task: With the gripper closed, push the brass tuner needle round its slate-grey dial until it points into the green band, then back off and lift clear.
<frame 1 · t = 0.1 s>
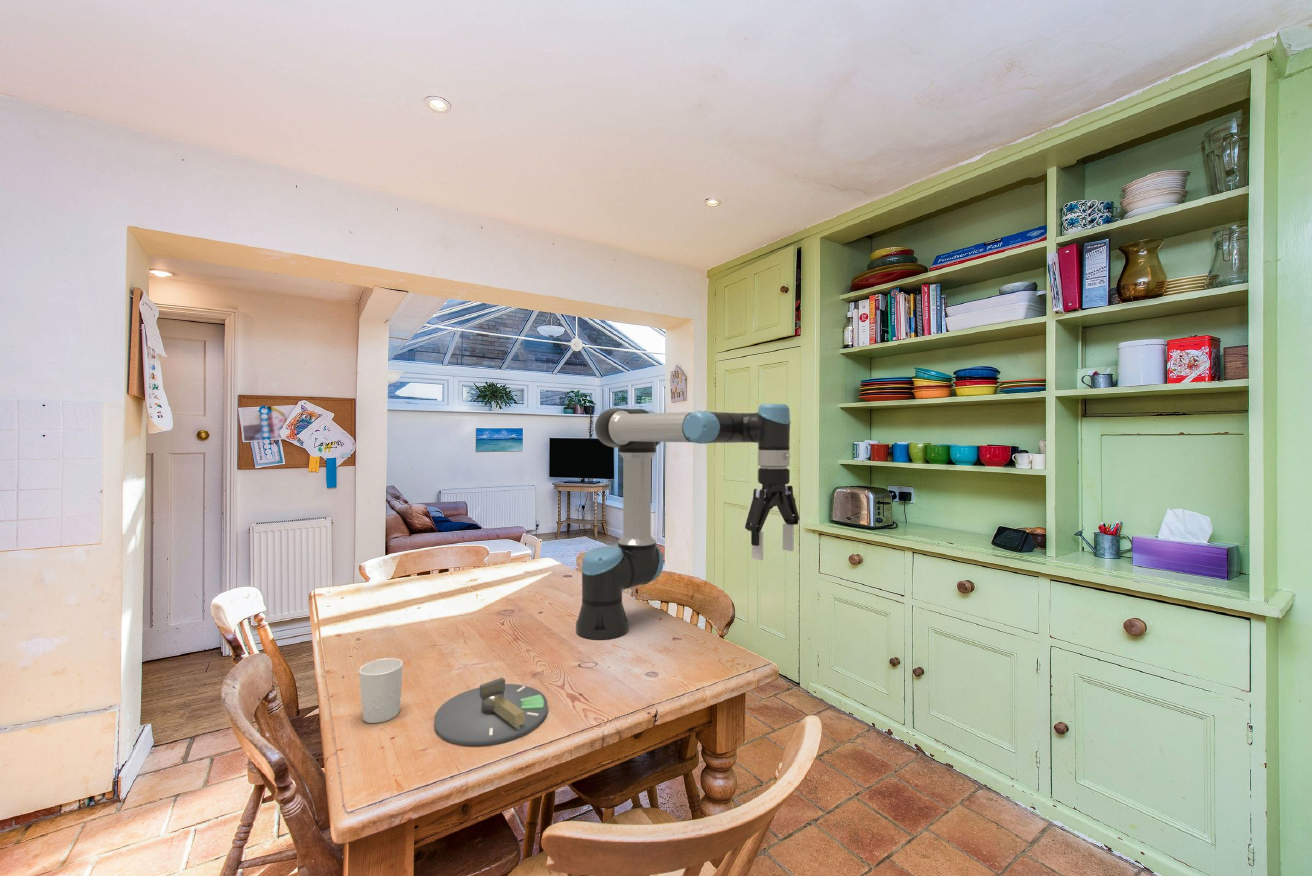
hand: (773, 554, 132), 28 cm above the table, fingers open, 13 cm apart
white cup: (381, 715, 110), on the table
needle: (502, 702, 107), point 4 cm above the table, hinge at 0.0°
dial: (492, 715, 110), on the table
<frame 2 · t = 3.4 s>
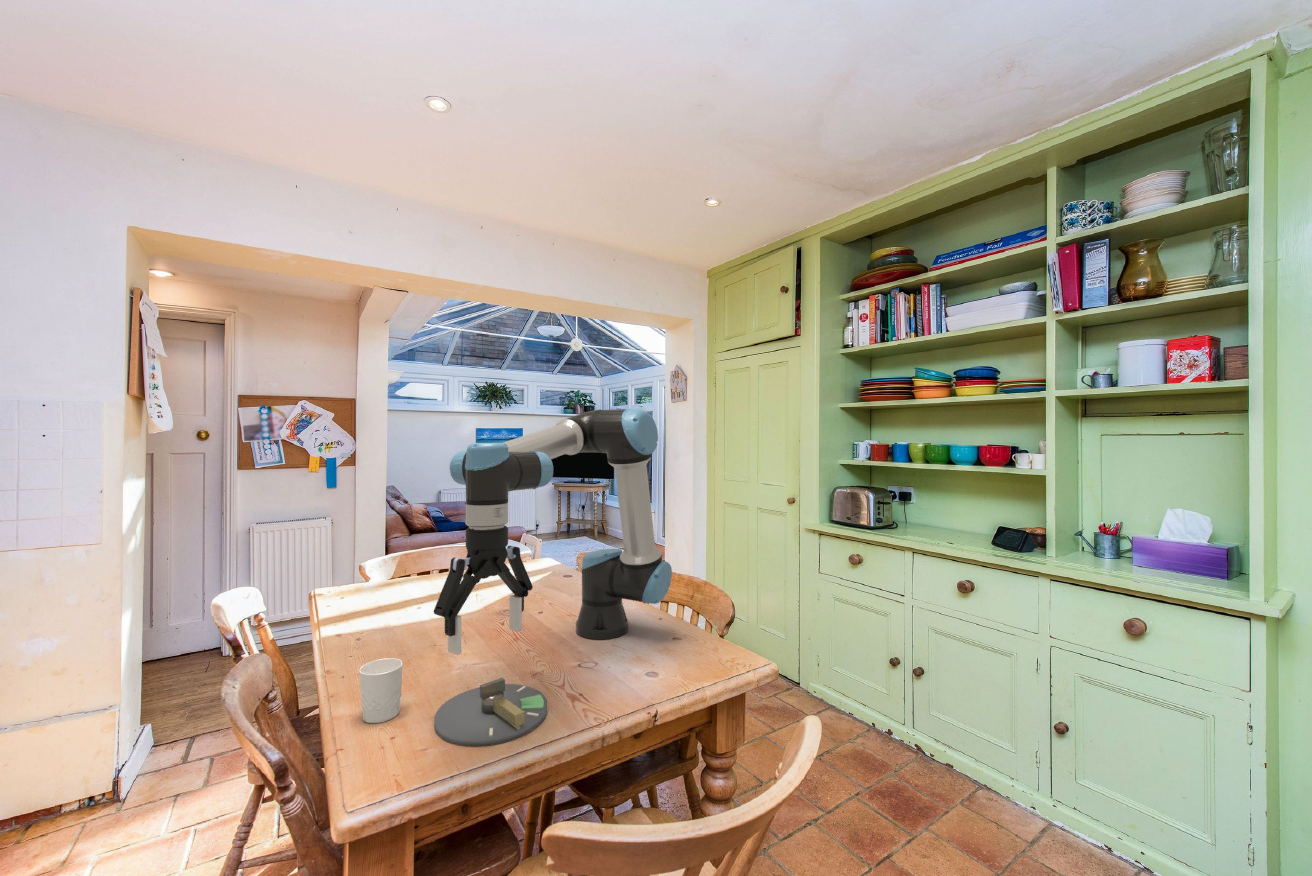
hand: (486, 640, 100), 19 cm above the table, fingers open, 13 cm apart
nothing on the table moved.
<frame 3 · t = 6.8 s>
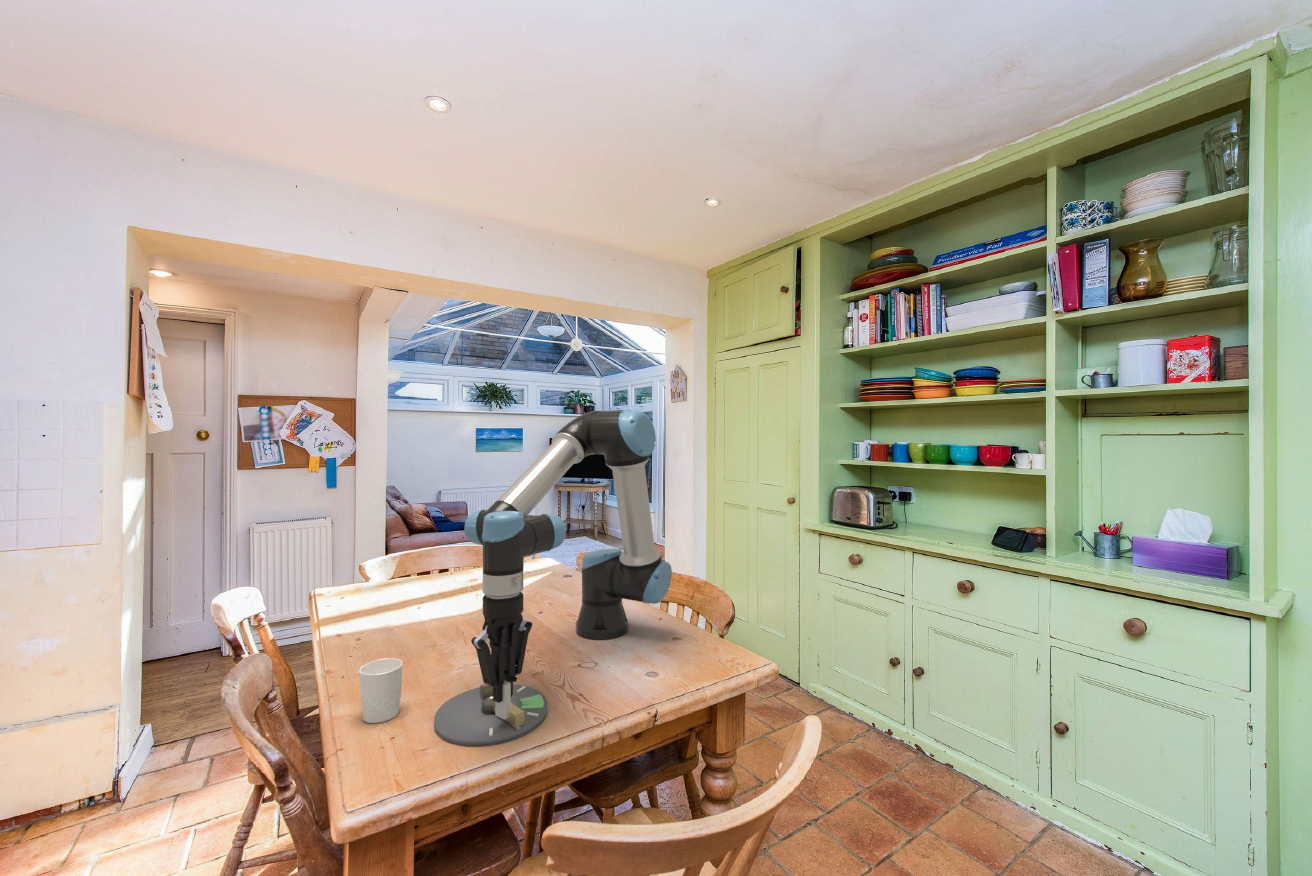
hand: (503, 715, 104), 3 cm above the table, fingers closed
needle: (502, 702, 107), point 4 cm above the table, hinge at 0.2°, touching gripper
everything else where it was.
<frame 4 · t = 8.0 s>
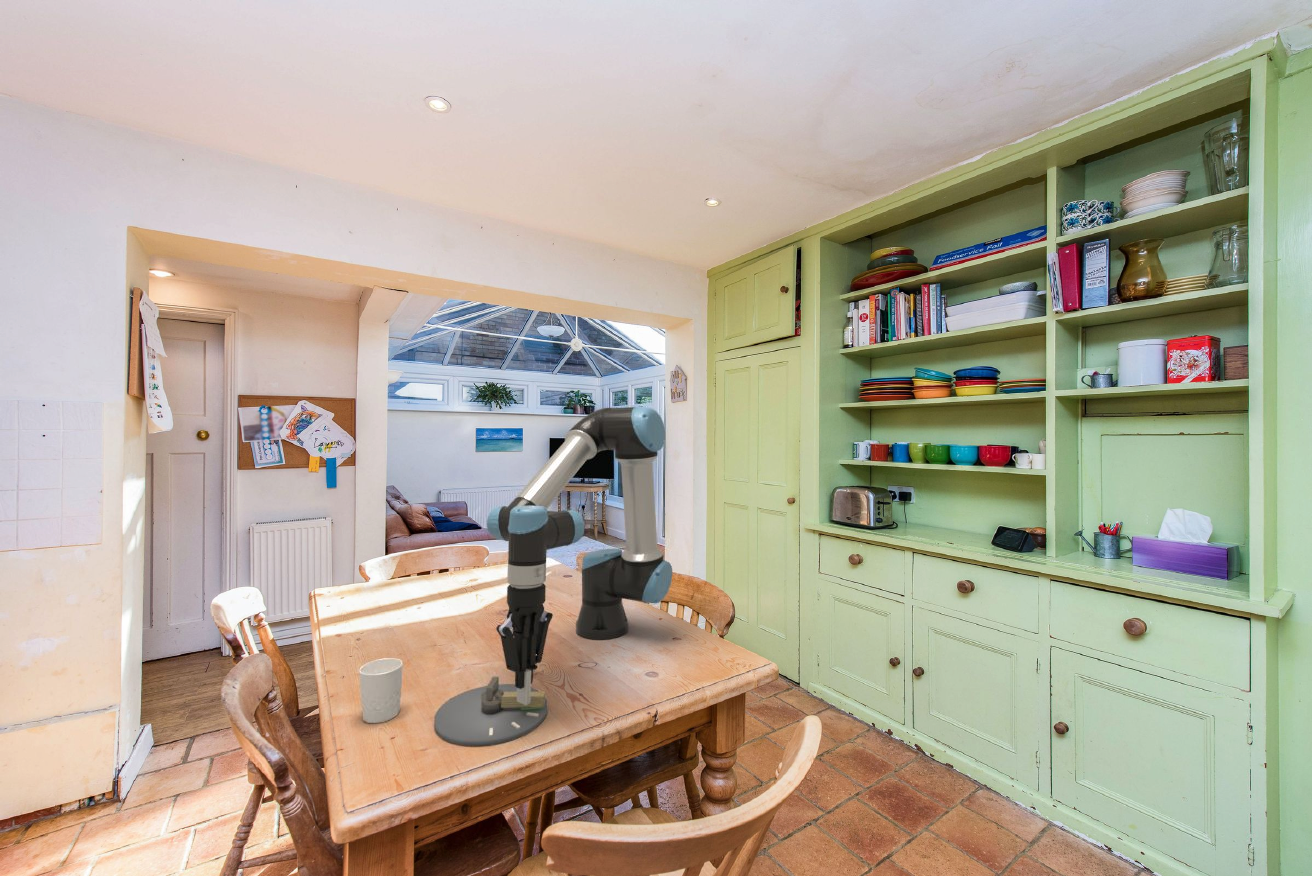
hand: (523, 702, 108), 4 cm above the table, fingers closed
needle: (513, 694, 110), point 4 cm above the table, hinge at 46.9°, touching gripper
everything else where it was.
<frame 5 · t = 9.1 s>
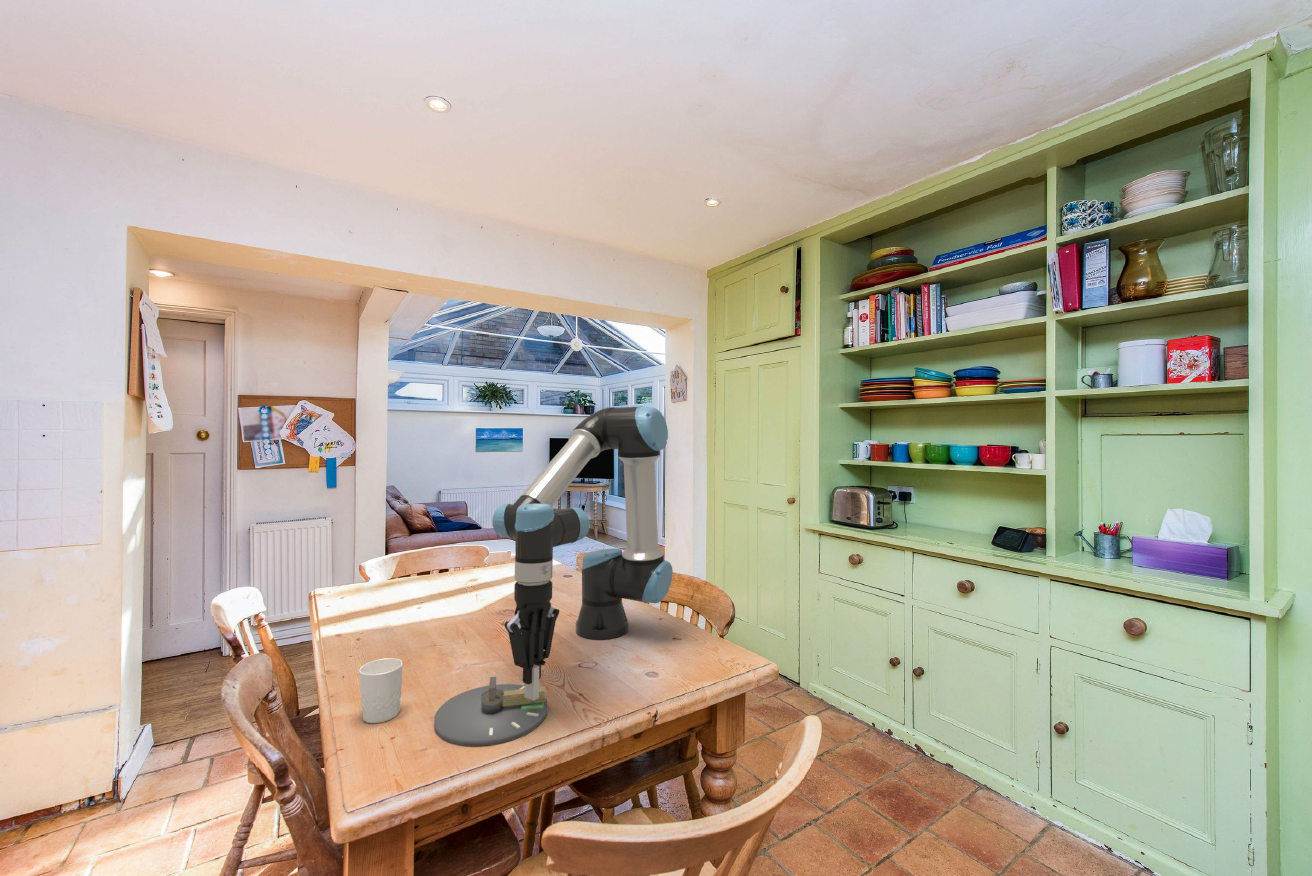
hand: (531, 697, 110), 4 cm above the table, fingers closed
needle: (513, 692, 111), point 4 cm above the table, hinge at 58.7°, touching gripper
everything else where it was.
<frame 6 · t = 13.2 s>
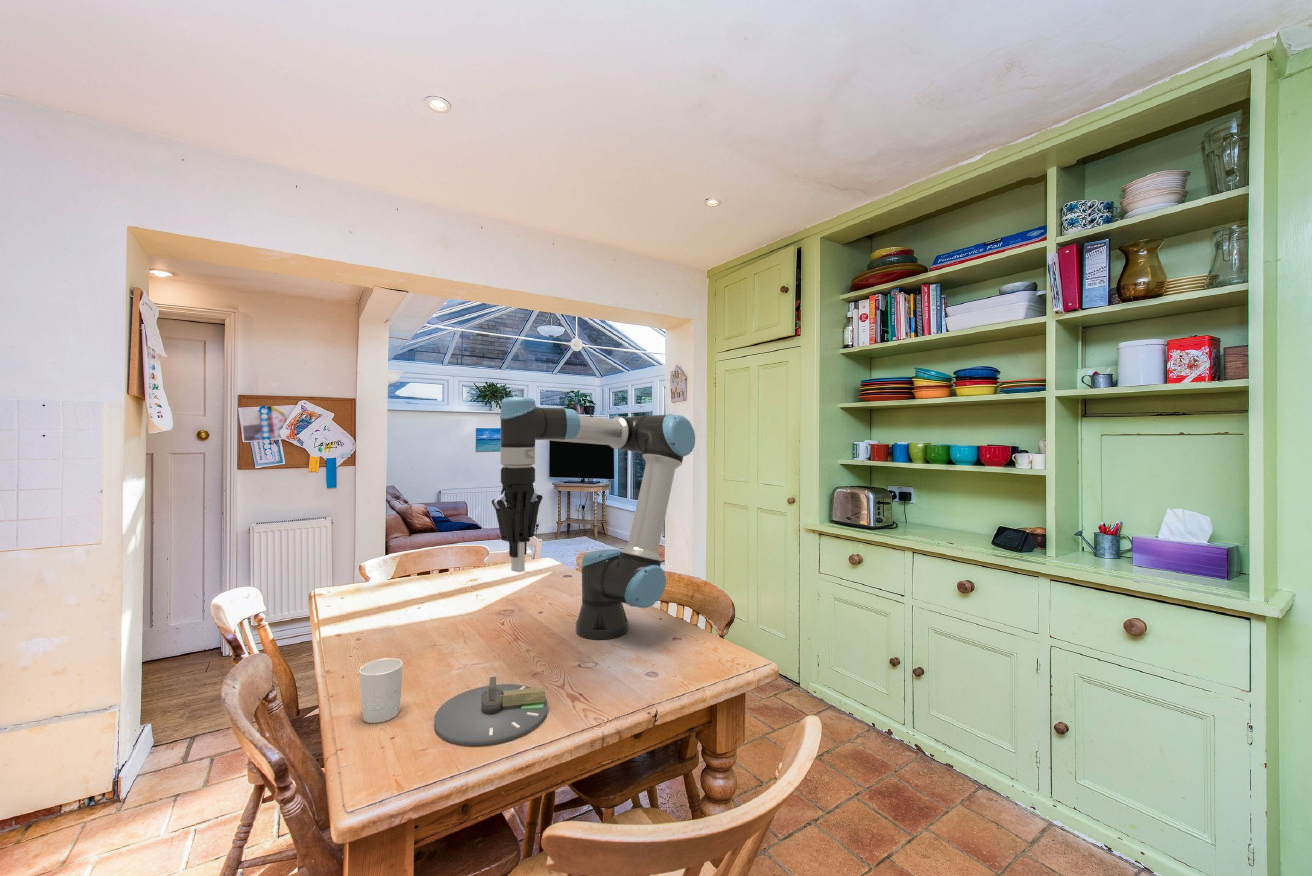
hand: (518, 570, 122), 26 cm above the table, fingers closed
needle: (513, 692, 111), point 4 cm above the table, hinge at 58.9°
everything else where it was.
at the end: needle at +59° (first picture: +0°) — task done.
